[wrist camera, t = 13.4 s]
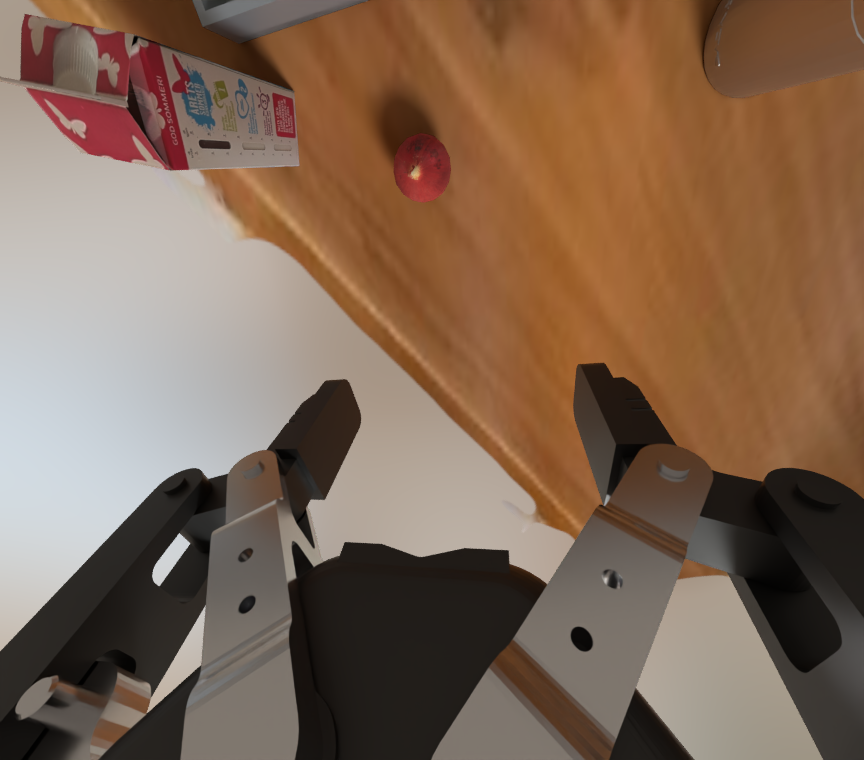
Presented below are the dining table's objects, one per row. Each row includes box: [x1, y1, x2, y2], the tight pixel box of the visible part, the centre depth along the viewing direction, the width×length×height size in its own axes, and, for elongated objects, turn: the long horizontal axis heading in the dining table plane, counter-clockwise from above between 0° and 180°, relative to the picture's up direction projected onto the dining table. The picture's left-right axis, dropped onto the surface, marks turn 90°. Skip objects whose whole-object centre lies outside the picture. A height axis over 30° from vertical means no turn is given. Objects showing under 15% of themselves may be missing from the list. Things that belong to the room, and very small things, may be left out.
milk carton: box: [0, 14, 299, 170], centre depth 27 cm, size 7×7×22 cm
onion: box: [394, 133, 451, 202], centre depth 33 cm, size 6×6×8 cm
